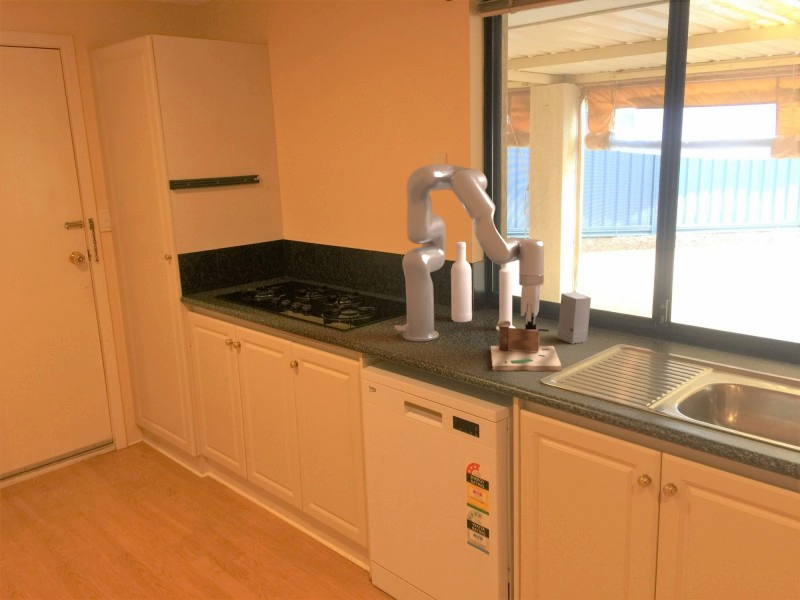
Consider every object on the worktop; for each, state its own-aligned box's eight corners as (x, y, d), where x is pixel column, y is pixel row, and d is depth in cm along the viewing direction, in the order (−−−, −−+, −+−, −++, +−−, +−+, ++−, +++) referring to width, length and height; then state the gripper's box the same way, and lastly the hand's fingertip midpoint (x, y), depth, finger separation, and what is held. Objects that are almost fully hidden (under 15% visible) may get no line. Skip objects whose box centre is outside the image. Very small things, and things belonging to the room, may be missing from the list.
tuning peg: (496, 350, 213) (496, 323, 212) (499, 346, 217) (499, 320, 215) (547, 354, 208) (547, 327, 206) (549, 350, 211) (549, 323, 209)
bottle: (476, 320, 258) (476, 242, 251) (460, 323, 254) (459, 244, 247) (463, 316, 264) (462, 240, 258) (447, 319, 260) (446, 242, 254)
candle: (515, 332, 240) (515, 262, 234) (495, 331, 241) (495, 262, 236) (515, 327, 246) (516, 259, 241) (496, 326, 248) (496, 259, 242)
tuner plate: (492, 370, 200) (492, 364, 199) (490, 350, 219) (490, 345, 219) (561, 370, 198) (561, 365, 197) (553, 350, 217) (553, 345, 217)
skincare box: (557, 338, 230) (558, 293, 227) (574, 335, 233) (575, 291, 230) (572, 344, 223) (573, 298, 219) (590, 341, 225) (591, 295, 222)
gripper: (522, 274, 218) (521, 329, 222) (515, 283, 204) (515, 342, 208) (545, 275, 215) (545, 330, 219) (541, 284, 201) (540, 343, 205)
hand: (530, 336), depth 213 cm, fingers closed
